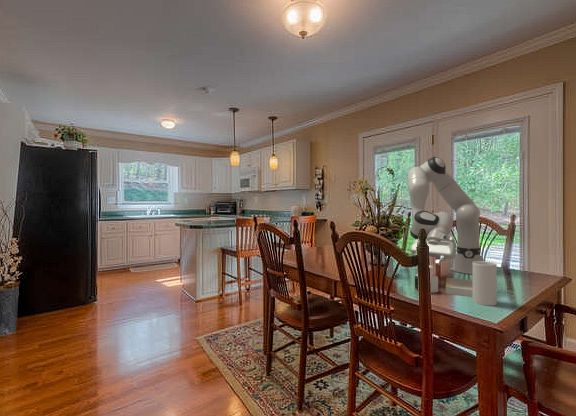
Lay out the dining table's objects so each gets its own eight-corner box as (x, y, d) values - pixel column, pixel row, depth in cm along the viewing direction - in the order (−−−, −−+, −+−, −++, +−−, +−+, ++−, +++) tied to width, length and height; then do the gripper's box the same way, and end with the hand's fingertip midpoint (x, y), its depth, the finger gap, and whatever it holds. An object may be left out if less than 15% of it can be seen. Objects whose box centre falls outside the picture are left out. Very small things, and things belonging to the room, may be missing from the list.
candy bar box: (381, 273, 174) (381, 245, 174) (390, 273, 173) (390, 245, 172) (383, 278, 163) (383, 248, 163) (393, 278, 162) (393, 248, 162)
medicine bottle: (414, 289, 142) (414, 264, 141) (426, 288, 144) (426, 262, 144) (425, 293, 135) (425, 267, 135) (438, 292, 137) (438, 265, 137)
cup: (468, 298, 127) (468, 260, 127) (489, 299, 127) (489, 261, 126) (479, 305, 119) (478, 265, 119) (501, 305, 118) (501, 265, 118)
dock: (446, 283, 151) (446, 277, 151) (474, 286, 145) (474, 280, 145) (445, 293, 135) (445, 286, 135) (477, 297, 129) (477, 290, 129)
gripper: (413, 234, 154) (403, 255, 148) (456, 237, 139) (448, 261, 133) (417, 242, 157) (408, 263, 151) (460, 246, 142) (452, 270, 136)
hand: (427, 262), depth 142 cm, fingers open, 8 cm apart
